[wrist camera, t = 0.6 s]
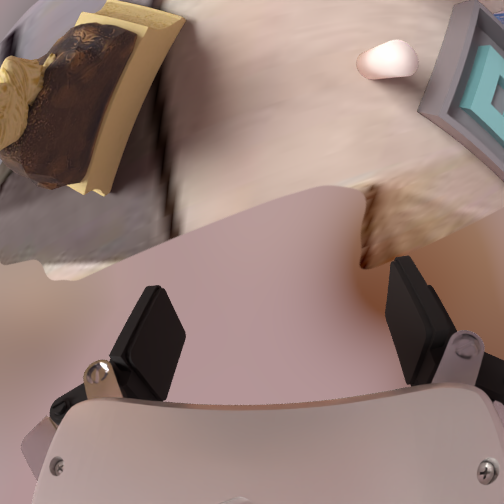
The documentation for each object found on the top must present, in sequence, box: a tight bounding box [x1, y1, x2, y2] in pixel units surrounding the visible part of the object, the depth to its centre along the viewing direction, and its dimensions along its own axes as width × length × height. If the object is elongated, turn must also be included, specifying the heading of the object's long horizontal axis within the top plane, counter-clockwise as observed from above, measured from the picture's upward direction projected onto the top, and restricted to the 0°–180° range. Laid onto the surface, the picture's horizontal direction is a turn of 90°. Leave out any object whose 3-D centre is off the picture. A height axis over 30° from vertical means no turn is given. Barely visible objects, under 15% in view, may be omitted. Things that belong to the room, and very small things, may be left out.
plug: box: [356, 40, 419, 80], centre depth 24 cm, size 4×4×10 cm
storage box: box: [417, 0, 504, 181], centre depth 24 cm, size 21×23×6 cm
